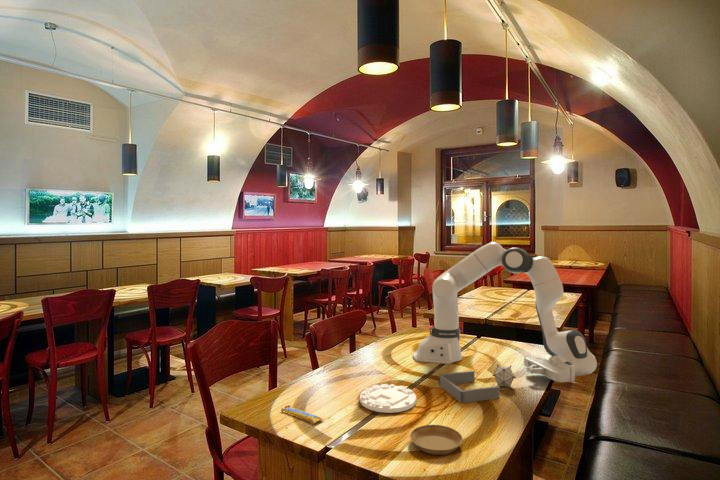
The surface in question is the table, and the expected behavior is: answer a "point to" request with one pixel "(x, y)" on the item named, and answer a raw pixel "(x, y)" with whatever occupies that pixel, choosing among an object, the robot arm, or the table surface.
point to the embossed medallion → (388, 398)
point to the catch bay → (466, 395)
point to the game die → (504, 376)
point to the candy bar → (302, 414)
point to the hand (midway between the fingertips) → (528, 370)
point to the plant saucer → (436, 439)
